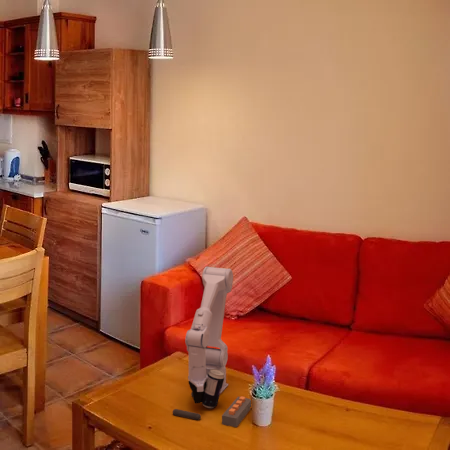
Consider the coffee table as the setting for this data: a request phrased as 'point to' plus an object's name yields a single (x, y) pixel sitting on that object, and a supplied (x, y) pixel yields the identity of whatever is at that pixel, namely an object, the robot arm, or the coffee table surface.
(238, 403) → the breaker strip
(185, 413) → the cord
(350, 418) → the coffee table surface
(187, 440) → the coffee table surface
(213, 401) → the beverage can
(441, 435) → the coffee table surface
